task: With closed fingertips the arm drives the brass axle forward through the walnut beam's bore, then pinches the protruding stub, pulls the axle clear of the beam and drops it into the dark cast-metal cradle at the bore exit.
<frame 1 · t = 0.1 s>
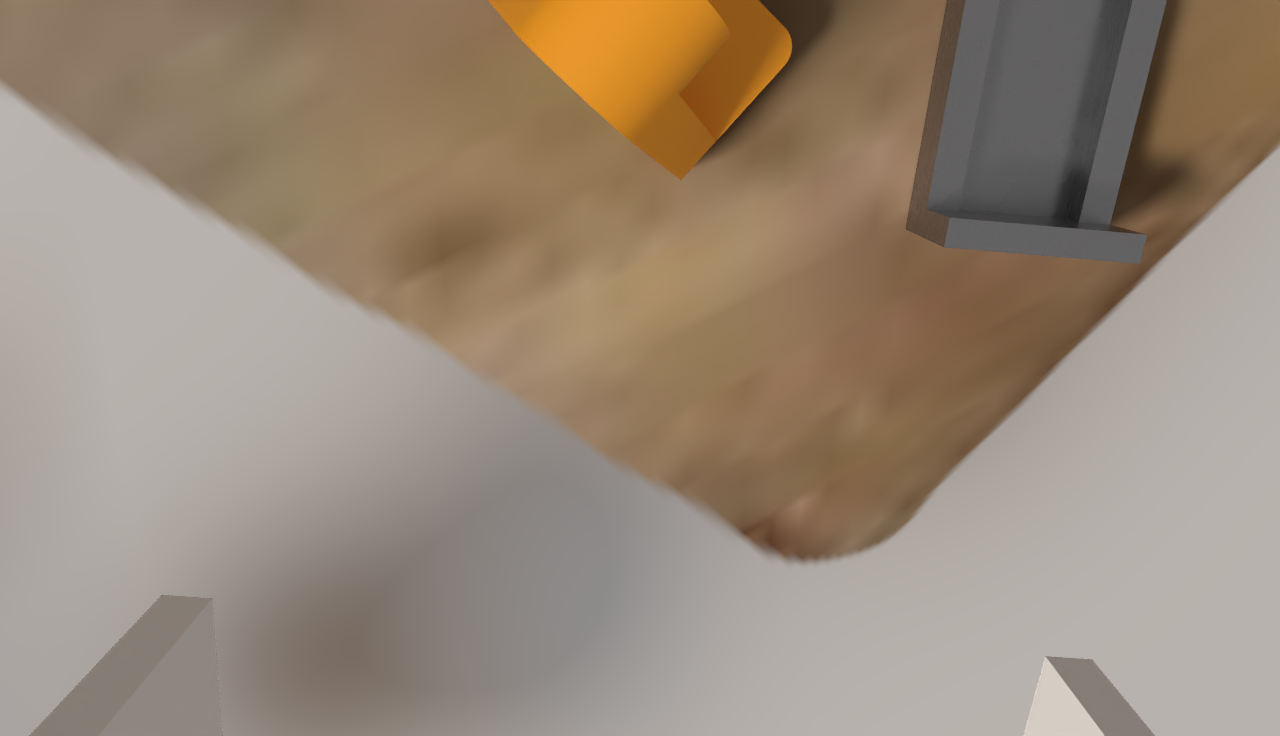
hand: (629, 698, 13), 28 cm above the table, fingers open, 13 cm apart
v block: (1037, 25, 37), on the table
bracket: (643, 26, 37), on the table
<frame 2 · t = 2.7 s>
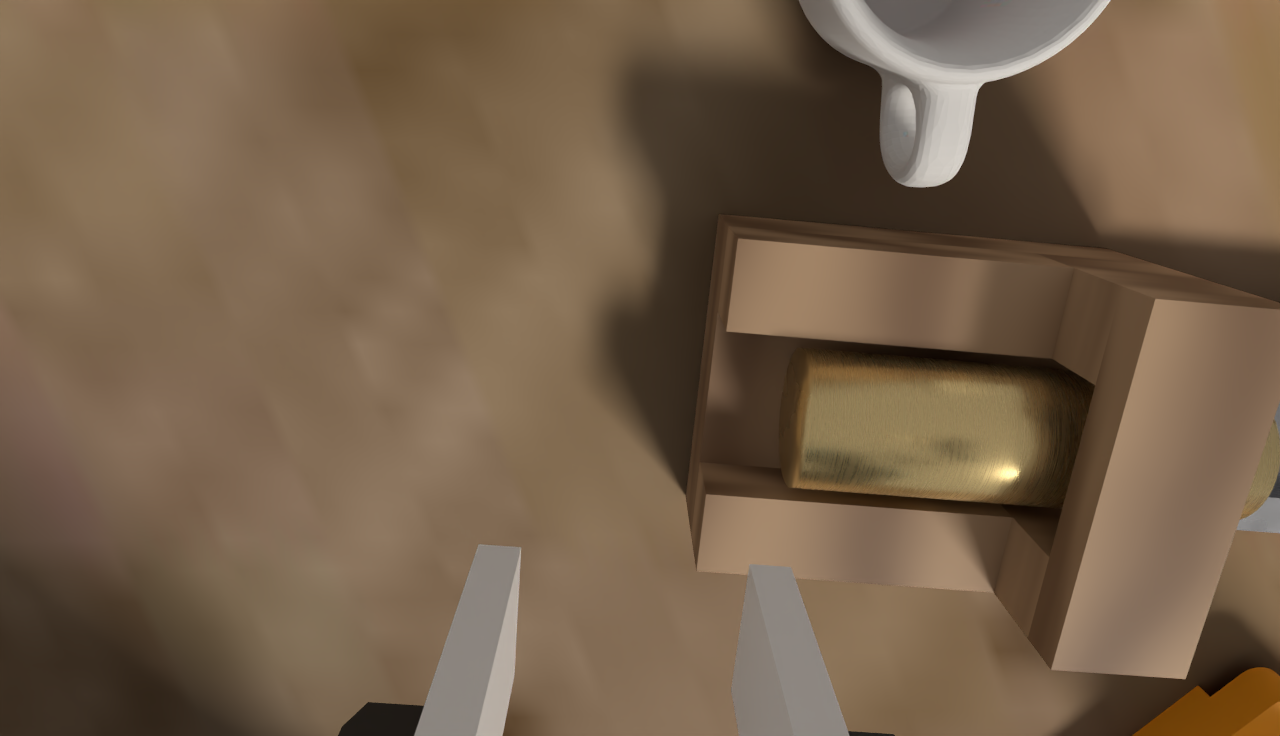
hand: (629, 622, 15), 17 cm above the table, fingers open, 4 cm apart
cup: (882, 6, 28), on the table
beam: (886, 377, 32), on the table
axle: (984, 411, 29), point 3 cm above the table, touching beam
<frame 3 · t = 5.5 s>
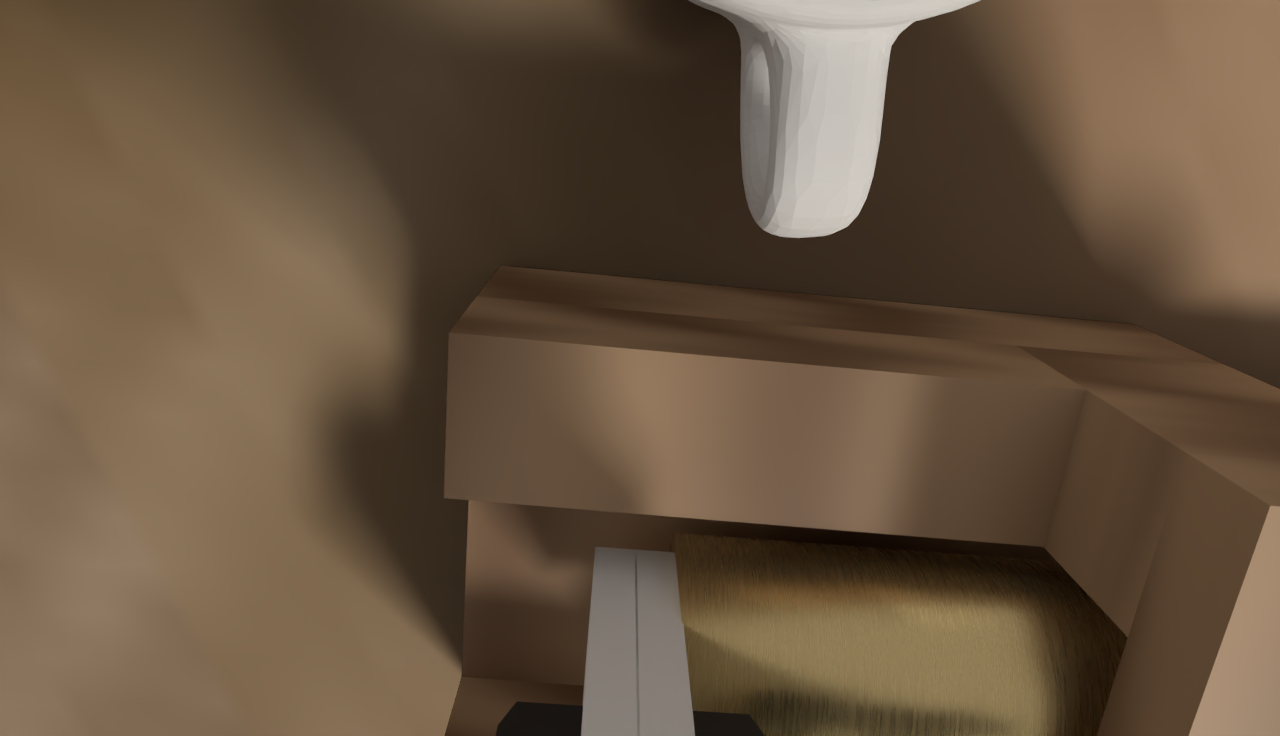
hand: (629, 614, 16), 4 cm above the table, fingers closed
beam: (784, 520, 20), on the table
axle: (1002, 604, 17), point 3 cm above the table, tilted 6°, touching gripper
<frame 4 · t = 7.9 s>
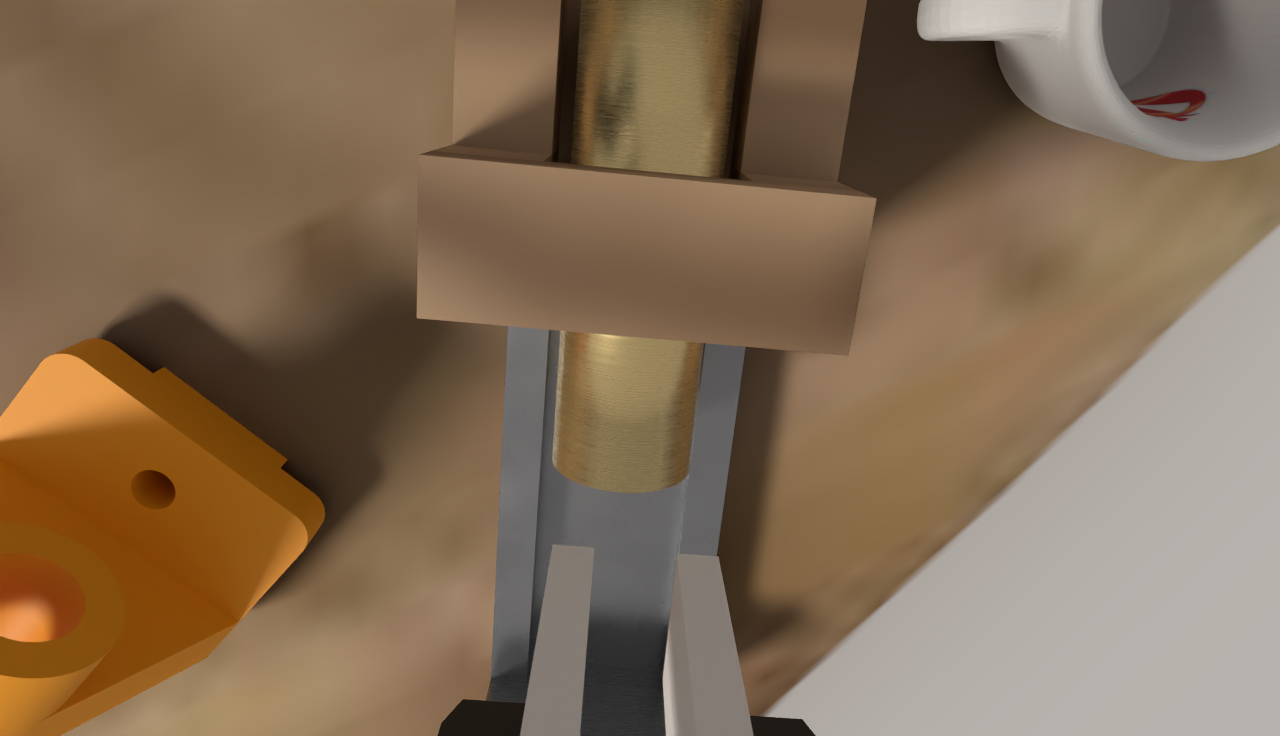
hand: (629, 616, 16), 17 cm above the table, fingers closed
cup: (1035, 22, 28), on the table
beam: (651, 59, 28), on the table
axle: (636, 234, 27), point 3 cm above the table, touching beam
v block: (612, 478, 33), on the table
bracket: (177, 475, 33), on the table
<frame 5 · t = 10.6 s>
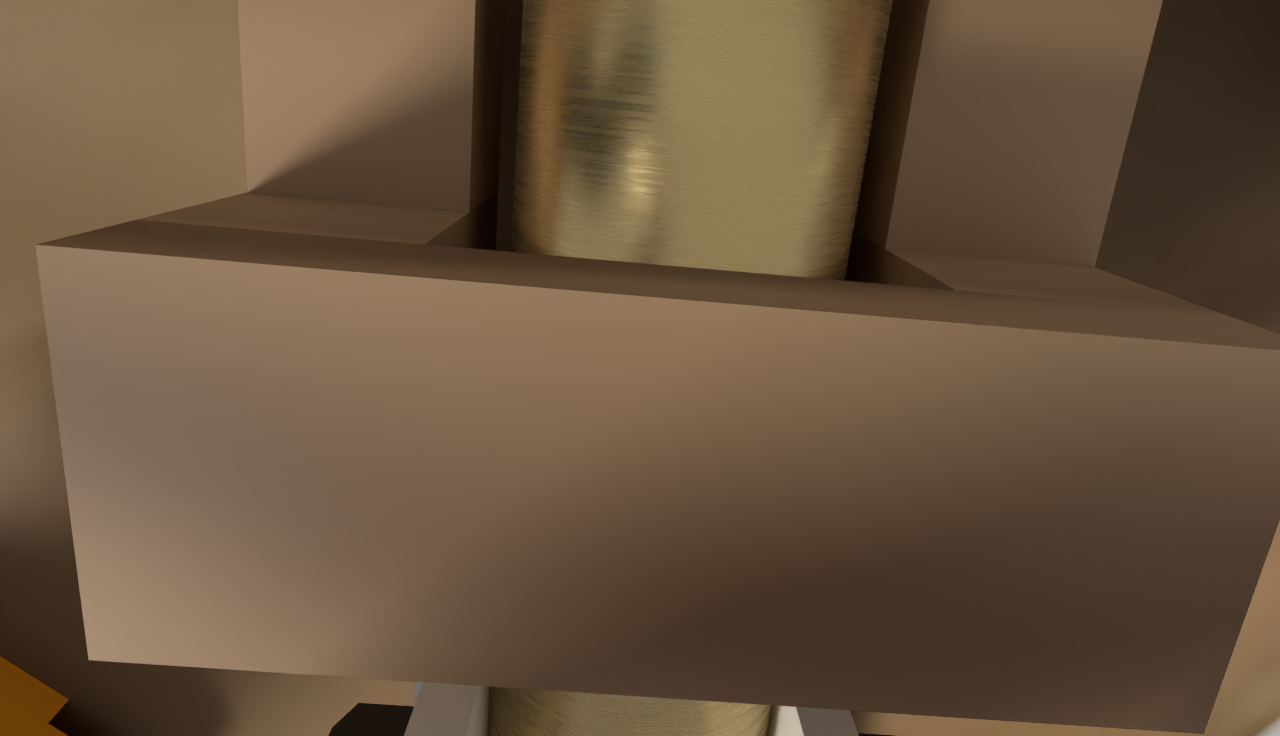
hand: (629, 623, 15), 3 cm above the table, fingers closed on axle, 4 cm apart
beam: (679, 19, 15), on the table
axle: (653, 352, 14), point 3 cm above the table, touching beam, gripper
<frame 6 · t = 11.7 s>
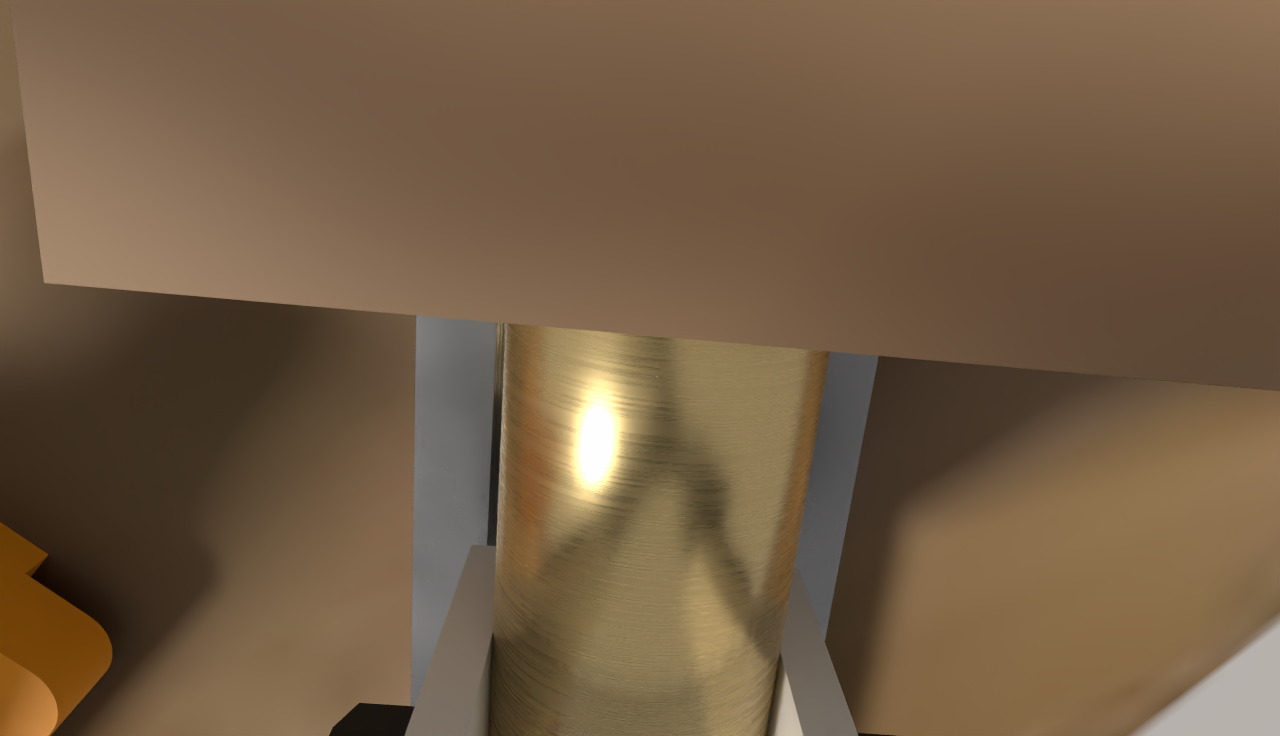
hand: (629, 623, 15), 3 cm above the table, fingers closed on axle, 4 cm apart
axle: (651, 350, 14), point 3 cm above the table, touching gripper
v block: (619, 585, 19), on the table
when the fingers open (3 cm above the table, at t = 12.8 s): axle drops 2 cm, resting on v block.
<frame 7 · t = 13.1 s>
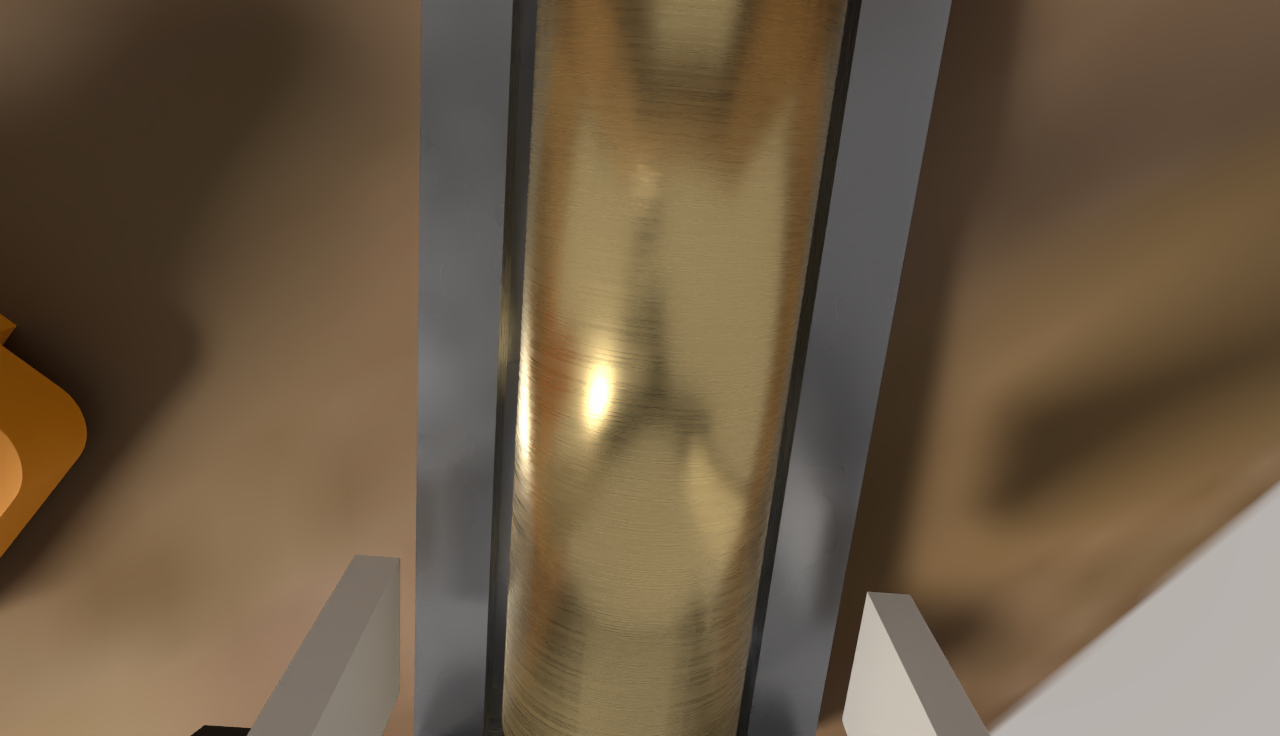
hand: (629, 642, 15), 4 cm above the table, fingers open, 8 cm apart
axle: (647, 326, 16), point 1 cm above the table, touching v block
v block: (646, 362, 17), on the table
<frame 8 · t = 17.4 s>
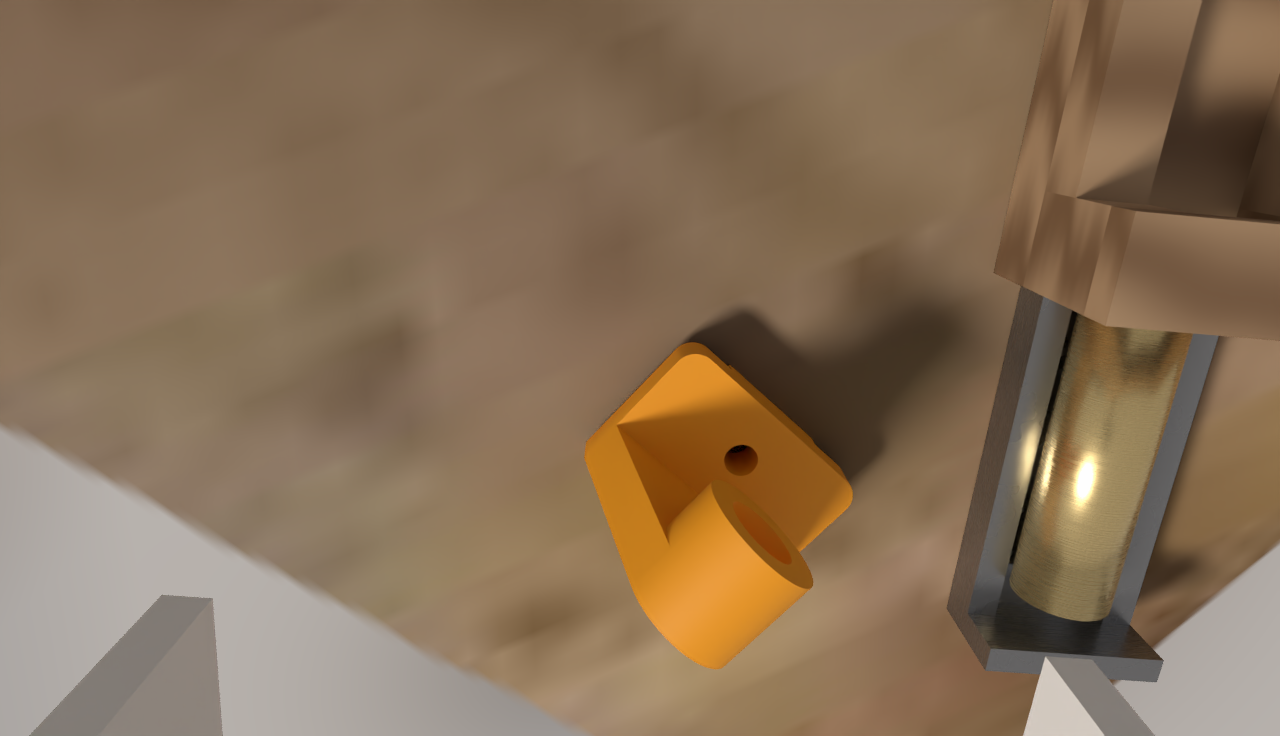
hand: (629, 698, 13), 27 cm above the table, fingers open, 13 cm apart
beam: (1152, 125, 37), on the table
axle: (1079, 441, 40), point 1 cm above the table, tilted 10°, touching v block
v block: (1066, 452, 41), on the table
bracket: (718, 451, 41), on the table
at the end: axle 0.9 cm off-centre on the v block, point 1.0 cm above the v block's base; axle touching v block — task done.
